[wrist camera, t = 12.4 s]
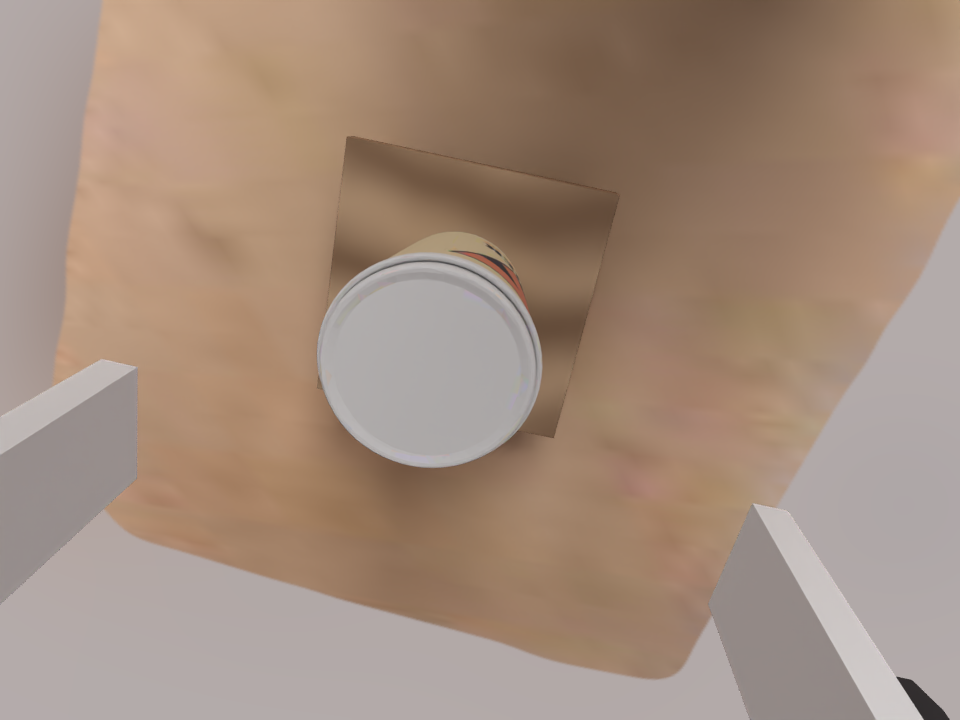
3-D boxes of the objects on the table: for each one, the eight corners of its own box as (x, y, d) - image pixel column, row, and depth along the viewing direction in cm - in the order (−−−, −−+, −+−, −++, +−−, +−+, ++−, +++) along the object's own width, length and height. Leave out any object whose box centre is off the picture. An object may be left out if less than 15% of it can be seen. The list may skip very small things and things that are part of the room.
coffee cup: (557, 346, 37) (571, 441, 26) (410, 391, 39) (365, 499, 28) (506, 191, 34) (498, 223, 23) (350, 247, 36) (272, 302, 25)
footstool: (370, 135, 39) (346, 136, 34) (607, 186, 39) (619, 195, 34) (341, 358, 44) (317, 388, 39) (550, 402, 44) (553, 438, 39)
